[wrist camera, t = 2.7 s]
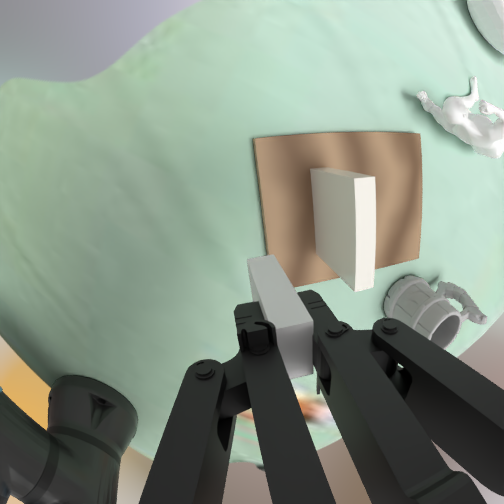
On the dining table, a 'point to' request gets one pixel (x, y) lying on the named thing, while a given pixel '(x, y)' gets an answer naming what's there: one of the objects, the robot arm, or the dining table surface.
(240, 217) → the dining table surface
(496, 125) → the person figurine
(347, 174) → the tile
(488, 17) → the vase
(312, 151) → the board
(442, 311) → the mug
